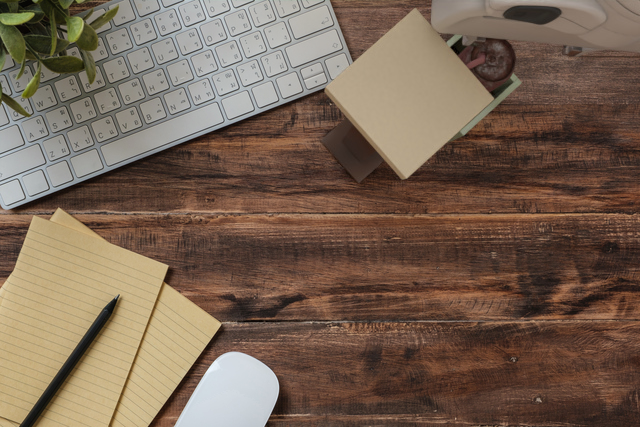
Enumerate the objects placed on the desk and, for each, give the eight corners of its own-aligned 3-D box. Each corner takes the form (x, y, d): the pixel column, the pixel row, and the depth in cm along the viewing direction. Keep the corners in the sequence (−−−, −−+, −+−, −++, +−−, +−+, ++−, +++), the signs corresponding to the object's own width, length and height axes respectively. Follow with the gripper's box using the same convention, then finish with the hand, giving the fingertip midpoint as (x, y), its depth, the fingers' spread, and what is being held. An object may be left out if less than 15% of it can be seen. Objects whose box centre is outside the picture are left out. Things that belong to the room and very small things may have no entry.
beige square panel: (323, 91, 40) (325, 86, 39) (411, 14, 41) (415, 7, 39) (402, 180, 41) (406, 178, 39) (487, 103, 41) (495, 98, 40)
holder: (399, 86, 68) (410, 74, 62) (453, 38, 69) (469, 21, 63) (448, 142, 69) (463, 135, 63) (502, 94, 69) (522, 82, 63)
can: (422, 81, 68) (456, 47, 54) (460, 61, 69) (504, 22, 55) (441, 119, 68) (480, 95, 55) (479, 99, 69) (528, 70, 55)
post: (320, 141, 67) (340, 92, 40) (361, 104, 68) (410, 31, 41) (357, 183, 68) (403, 163, 41) (399, 146, 68) (471, 101, 41)
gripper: (785, -64, 31) (630, 19, 45) (477, -101, 29) (415, -4, 43) (777, 35, 31) (625, 87, 45) (469, 3, 29) (410, 67, 43)
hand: (520, 42), depth 44 cm, fingers open, 8 cm apart
